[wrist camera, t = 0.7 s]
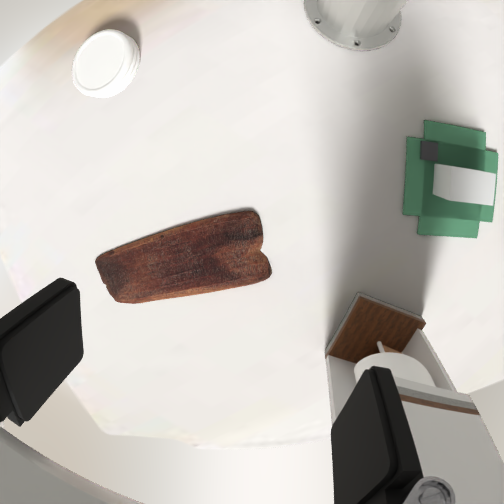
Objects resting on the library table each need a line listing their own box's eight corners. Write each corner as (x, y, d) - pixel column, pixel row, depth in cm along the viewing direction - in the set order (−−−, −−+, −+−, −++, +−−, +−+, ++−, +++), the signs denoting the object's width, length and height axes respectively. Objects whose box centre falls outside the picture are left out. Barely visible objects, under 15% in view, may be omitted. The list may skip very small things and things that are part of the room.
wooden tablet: (110, 310, 47) (83, 255, 43) (116, 303, 49) (90, 249, 45) (275, 282, 42) (255, 210, 38) (275, 274, 44) (257, 205, 40)
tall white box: (421, 316, 42) (526, 521, 9) (386, 370, 46) (437, 573, 12) (357, 291, 42) (435, 546, 9) (324, 351, 46) (337, 587, 13)
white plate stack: (73, 78, 37) (59, 75, 34) (111, 24, 34) (99, 18, 31) (112, 110, 38) (98, 109, 35) (155, 53, 35) (144, 46, 32)
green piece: (405, 118, 35) (422, 113, 29) (494, 135, 33) (518, 136, 27) (399, 231, 39) (414, 244, 34) (486, 237, 38) (507, 249, 32)
